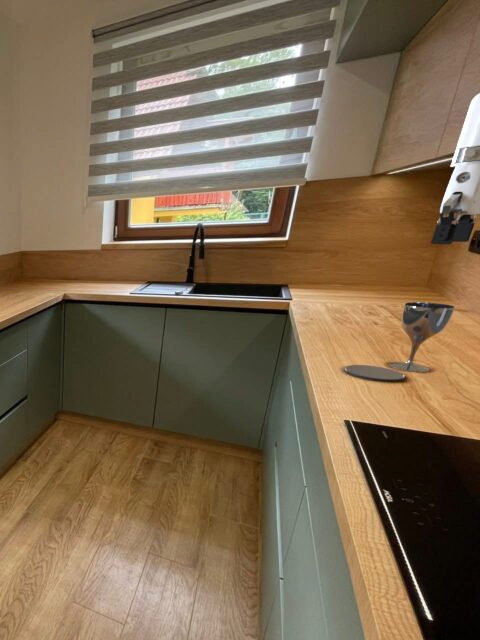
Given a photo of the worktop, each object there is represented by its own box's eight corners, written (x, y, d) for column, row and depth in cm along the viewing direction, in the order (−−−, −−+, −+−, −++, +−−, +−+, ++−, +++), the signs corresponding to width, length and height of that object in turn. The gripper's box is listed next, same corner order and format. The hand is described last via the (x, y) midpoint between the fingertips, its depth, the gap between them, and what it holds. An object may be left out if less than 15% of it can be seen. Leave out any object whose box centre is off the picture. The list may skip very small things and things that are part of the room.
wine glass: (378, 361, 108) (396, 302, 102) (415, 362, 106) (436, 302, 101) (400, 372, 100) (421, 308, 95) (441, 372, 99) (465, 308, 93)
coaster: (372, 366, 105) (373, 363, 105) (417, 380, 95) (418, 377, 95) (332, 368, 104) (333, 366, 104) (373, 383, 95) (373, 380, 94)
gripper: (491, 153, 83) (458, 245, 89) (519, 155, 90) (487, 240, 96) (437, 158, 89) (410, 244, 95) (467, 160, 96) (441, 240, 102)
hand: (449, 242), depth 95 cm, fingers open, 9 cm apart
